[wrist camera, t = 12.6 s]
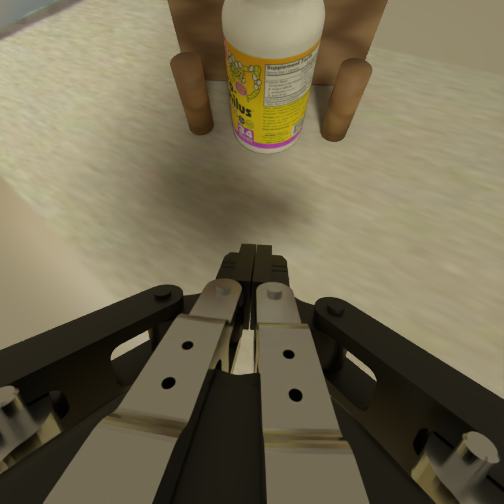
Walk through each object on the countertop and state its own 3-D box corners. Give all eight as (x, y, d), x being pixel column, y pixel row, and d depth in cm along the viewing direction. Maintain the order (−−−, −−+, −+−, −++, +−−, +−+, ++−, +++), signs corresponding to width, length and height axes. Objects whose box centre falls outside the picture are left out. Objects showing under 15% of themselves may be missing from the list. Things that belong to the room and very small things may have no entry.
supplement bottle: (226, 113, 26) (200, -93, 14) (288, 99, 26) (315, -110, 14) (242, 164, 23) (228, -27, 11) (310, 148, 24) (365, -51, 12)
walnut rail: (354, 76, 27) (391, -27, 20) (355, 85, 27) (393, -16, 19) (190, 69, 28) (165, -32, 20) (187, 79, 27) (162, -21, 20)
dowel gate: (345, 123, 25) (370, 58, 19) (346, 142, 24) (373, 80, 18) (191, 116, 26) (173, 51, 20) (187, 134, 25) (167, 72, 19)
